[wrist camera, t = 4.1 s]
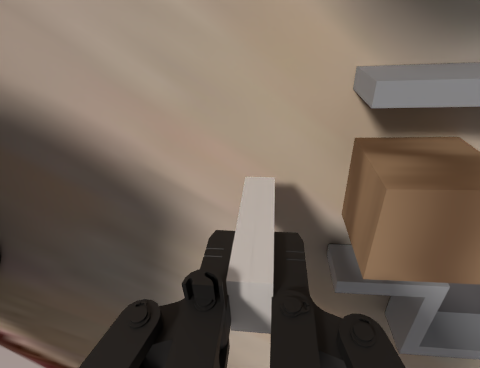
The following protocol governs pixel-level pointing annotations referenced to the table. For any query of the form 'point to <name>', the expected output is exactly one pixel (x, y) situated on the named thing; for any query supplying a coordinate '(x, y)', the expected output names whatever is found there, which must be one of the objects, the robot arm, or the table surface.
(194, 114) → the table surface
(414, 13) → the table surface
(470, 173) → the walnut block
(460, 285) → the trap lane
